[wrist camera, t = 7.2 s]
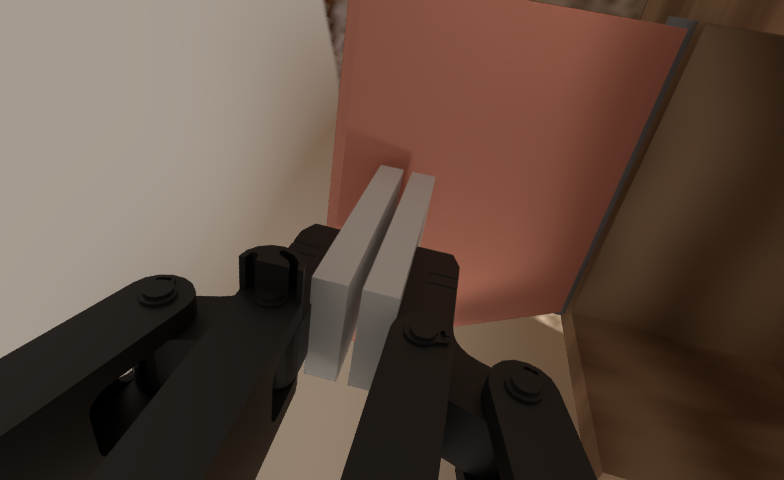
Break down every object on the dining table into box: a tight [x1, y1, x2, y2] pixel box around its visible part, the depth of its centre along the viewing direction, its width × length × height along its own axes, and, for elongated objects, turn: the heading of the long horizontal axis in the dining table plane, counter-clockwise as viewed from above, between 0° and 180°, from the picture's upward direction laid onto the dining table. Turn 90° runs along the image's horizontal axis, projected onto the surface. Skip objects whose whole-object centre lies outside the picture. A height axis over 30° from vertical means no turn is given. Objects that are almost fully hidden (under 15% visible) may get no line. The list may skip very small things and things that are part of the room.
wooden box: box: [561, 0, 784, 480], centre depth 18 cm, size 11×16×21 cm
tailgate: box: [327, 0, 699, 341], centre depth 18 cm, size 2×14×13 cm
